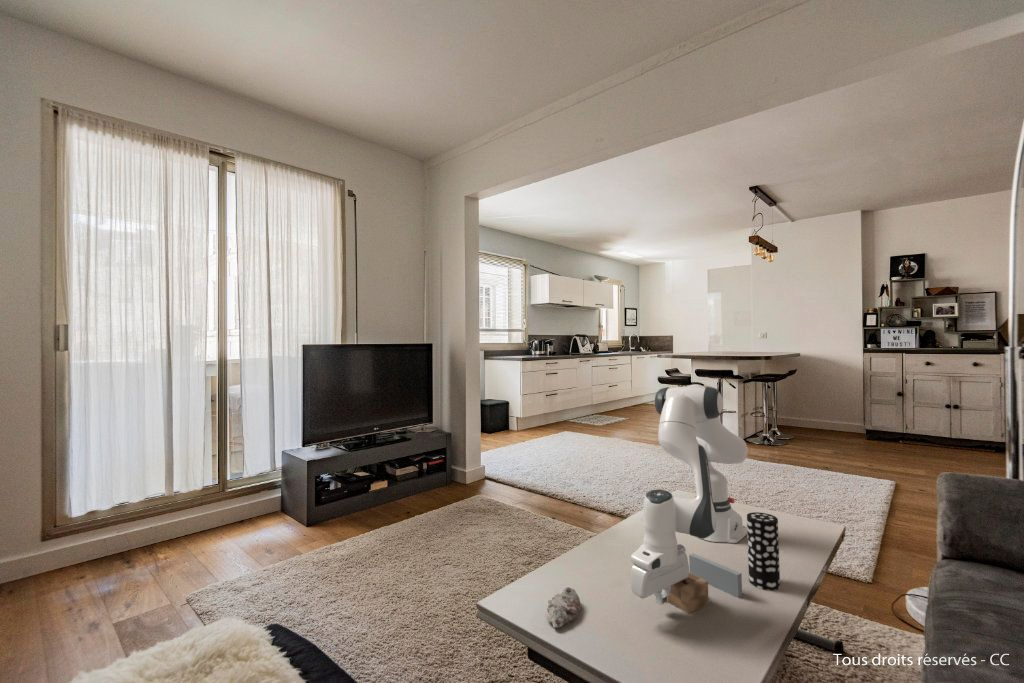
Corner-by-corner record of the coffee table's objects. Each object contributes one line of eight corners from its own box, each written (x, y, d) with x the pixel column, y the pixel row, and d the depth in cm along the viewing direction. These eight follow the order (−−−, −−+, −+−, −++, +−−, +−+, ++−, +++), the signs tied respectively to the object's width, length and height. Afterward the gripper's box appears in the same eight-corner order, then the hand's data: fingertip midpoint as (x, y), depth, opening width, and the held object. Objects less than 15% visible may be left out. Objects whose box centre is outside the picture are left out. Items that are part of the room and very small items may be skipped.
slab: (693, 573, 146) (693, 553, 146) (742, 595, 133) (741, 573, 133) (689, 575, 145) (689, 554, 145) (738, 597, 132) (737, 575, 132)
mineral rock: (561, 635, 117) (561, 617, 117) (536, 623, 122) (536, 606, 122) (591, 609, 128) (591, 593, 128) (567, 599, 134) (567, 584, 134)
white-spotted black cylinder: (754, 573, 145) (752, 510, 146) (783, 582, 139) (781, 516, 140) (744, 583, 140) (742, 517, 140) (775, 593, 134) (772, 524, 134)
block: (681, 589, 137) (680, 568, 137) (708, 602, 130) (707, 581, 130) (661, 598, 132) (660, 577, 132) (688, 613, 125) (688, 591, 125)
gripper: (675, 538, 134) (676, 586, 134) (626, 557, 123) (627, 609, 123) (694, 546, 129) (695, 595, 129) (644, 566, 118) (646, 621, 118)
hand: (662, 602), depth 126 cm, fingers closed
